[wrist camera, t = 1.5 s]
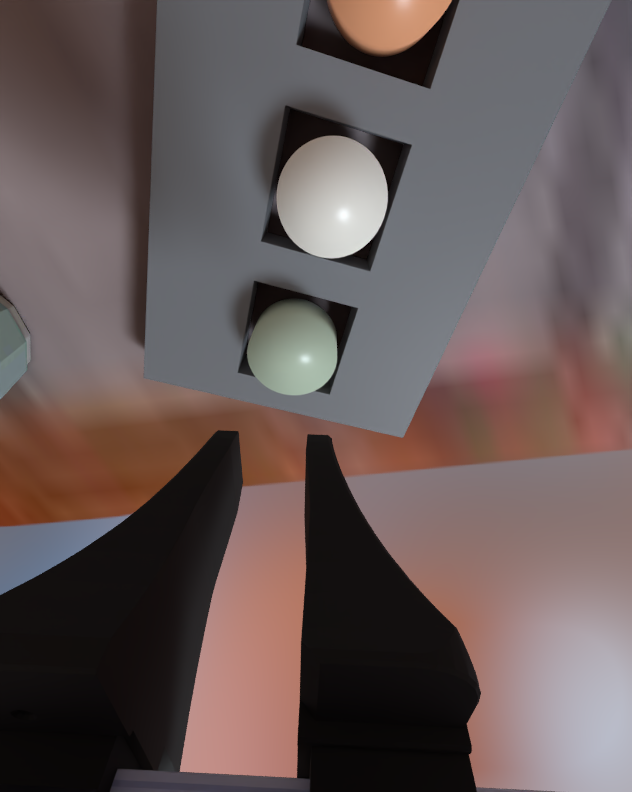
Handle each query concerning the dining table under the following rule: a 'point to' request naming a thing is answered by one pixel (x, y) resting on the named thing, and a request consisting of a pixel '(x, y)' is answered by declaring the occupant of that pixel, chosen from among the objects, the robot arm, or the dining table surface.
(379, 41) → the terracotta button
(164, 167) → the button panel
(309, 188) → the ivory button
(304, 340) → the green button
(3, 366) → the disposable coffee cup
